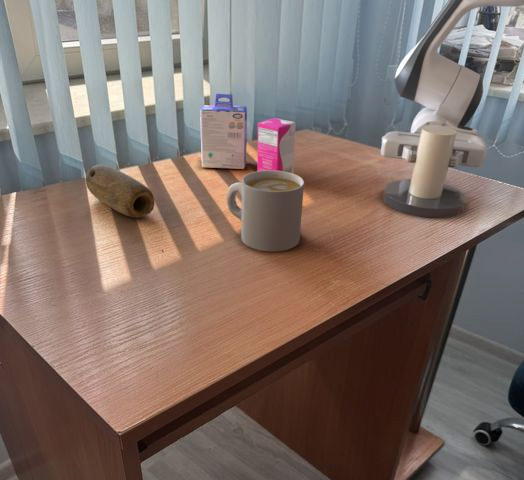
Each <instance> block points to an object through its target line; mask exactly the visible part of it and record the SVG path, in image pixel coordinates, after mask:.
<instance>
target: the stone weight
mask: <svg viewBox="0 0 524 480" xmlns="http://www.w3.org/2000/svg"><path fill="white" fill-rule="evenodd" d="M85 185H86V188H87V189H88V191H89V192H90V193H91V194H92V195H93V197H95V199H97V200H98V201H100V202H102V203H103V204H104V205H106V206H108V207H109V208H111V209H113V210H114V211H116V212H118V213H120V214H121V215H124V216H127V217H130V218H140V217H144V216H147V215H149V214H150V213H152V211H153V210H154V207H155V197H154V194H153V192H152V191H151V189H150V188H149V187H148V186H147V185H145V184H143V183H142V182H141V181H139V180H137V179H136V178H134V177H132V176H130V175H128V174H126V173H124V172H123V171H121V170H119V169H116V168H114V167H113V166H110V165H106V164H95V165H93V166H91V167H90V168H89V169H88V171H87V173H86V175H85Z"/></svg>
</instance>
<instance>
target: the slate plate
mask: <svg viewBox="0 0 524 480" xmlns="http://www.w3.org/2000/svg"><path fill="white" fill-rule="evenodd" d="M410 182H411V178H406V179H405V178H404V179H397V180H393V181H390V182H389V183H387V184H386V185H385V186H384V189H383V194H382V199H383V201H384V203H385V204H386V205H387V206H389V207H390V208H392V209H394V210H395V211H398V212H401V213H402V214H403V213H404V214H406V215H410V216H415V217H422V218H430V219H431V218H433V219H442V218H443V219H444V218H450V217H454V216H457V215H459V214H461V213H462V212H463V211H464V209H465V206H466V203H467V196H466V195H465V193H463V191H462V190H460V189H458V188H456V187H454V186H452V185H449V184H446V183H444V187H443V191H442V195H441V196H440V197H439V198H435V199H424V198H419V197H416V196H413V195H412V194H410V193H409V187H410Z"/></svg>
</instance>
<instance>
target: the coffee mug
mask: <svg viewBox="0 0 524 480" xmlns="http://www.w3.org/2000/svg"><path fill="white" fill-rule="evenodd" d="M304 190H305V181H304V179H303V178H302V177H301V176H300V175H297V174H295V173H294V172H293V173H289V172H285V171H277V170H263V171H257V170H256V171H251V172H249V173H247V174H244V175H243V177H242V179H241V182H234V183H232V184H231V185H230V186H229V187H228V189H227V193H226V205H227V209H228V210H229V212H230V213H231V214H232V215H233V216H234V217H236V218H237V219H239V220H240V222H241V226H240V227H241V229H240V231H241V233H240V235H241V236H240V237H241V241H242V242H243V244H245V245H246V246H247V247H249V248H251V249H253V250H257V251H260V252H261V251H262V252H283V251H287V250H291V249H293V248H295V247H296V246H297V245H298V244H299V243H300V239H301V237H300V236H301V225H302V215H303V214H302V213H303V204H304V203H303V202H304ZM237 193H238V194H240V195H241V207H239V206H238V204H237V200H236V199H237V197H236V195H237Z"/></svg>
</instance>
